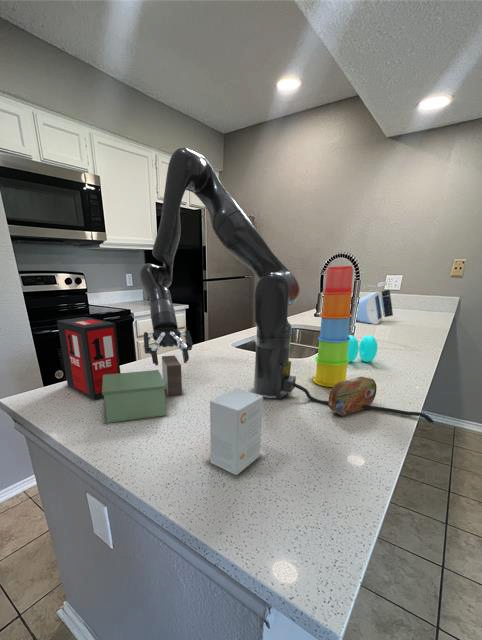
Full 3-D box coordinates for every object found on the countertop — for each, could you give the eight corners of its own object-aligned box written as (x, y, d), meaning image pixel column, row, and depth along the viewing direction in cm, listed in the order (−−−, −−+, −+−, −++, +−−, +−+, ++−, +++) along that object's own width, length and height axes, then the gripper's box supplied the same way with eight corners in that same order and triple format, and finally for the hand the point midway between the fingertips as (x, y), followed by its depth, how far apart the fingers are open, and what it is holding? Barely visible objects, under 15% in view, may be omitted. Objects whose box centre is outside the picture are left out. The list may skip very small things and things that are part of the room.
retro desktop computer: (388, 279, 199) (391, 280, 185) (393, 316, 205) (396, 320, 190) (344, 290, 210) (344, 292, 196) (350, 325, 216) (350, 329, 201)
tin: (333, 418, 78) (338, 386, 75) (323, 413, 81) (328, 382, 78) (374, 406, 84) (380, 376, 81) (364, 402, 87) (369, 373, 84)
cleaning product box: (67, 385, 99) (56, 320, 92) (94, 378, 105) (85, 316, 98) (94, 400, 89) (84, 328, 82) (122, 391, 95) (115, 323, 88)
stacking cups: (329, 390, 95) (346, 266, 83) (306, 379, 104) (319, 265, 92) (354, 385, 99) (375, 265, 87) (330, 375, 108) (345, 265, 96)
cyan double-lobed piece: (375, 365, 118) (381, 338, 114) (348, 365, 118) (352, 338, 115) (363, 357, 127) (368, 332, 124) (338, 357, 127) (342, 332, 124)
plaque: (163, 384, 100) (161, 356, 97) (176, 382, 101) (175, 355, 98) (168, 396, 91) (166, 366, 88) (182, 394, 92) (181, 364, 89)
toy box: (160, 396, 91) (158, 369, 88) (167, 415, 80) (165, 385, 77) (106, 402, 87) (102, 374, 84) (105, 423, 76) (101, 392, 73)
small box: (234, 445, 67) (235, 387, 62) (260, 456, 63) (264, 395, 58) (209, 463, 61) (209, 400, 56) (236, 476, 57) (238, 410, 52)
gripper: (140, 310, 94) (147, 358, 88) (187, 308, 98) (197, 354, 92) (140, 325, 101) (146, 371, 95) (184, 323, 105) (193, 366, 99)
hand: (171, 363), depth 93 cm, fingers open, 8 cm apart
